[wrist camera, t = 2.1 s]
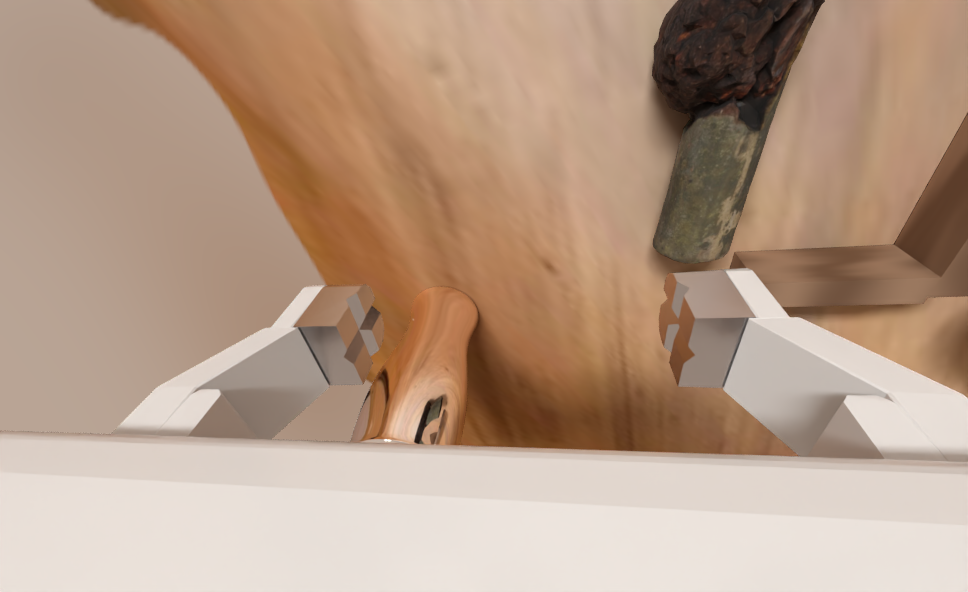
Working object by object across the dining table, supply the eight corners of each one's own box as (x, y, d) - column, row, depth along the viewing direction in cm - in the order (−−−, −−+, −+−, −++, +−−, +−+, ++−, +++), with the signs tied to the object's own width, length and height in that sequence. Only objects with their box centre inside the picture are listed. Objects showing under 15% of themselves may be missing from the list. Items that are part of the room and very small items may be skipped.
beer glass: (482, 283, 33) (449, 444, 21) (484, 343, 37) (458, 505, 25) (401, 279, 34) (326, 433, 22) (413, 338, 38) (354, 494, 26)
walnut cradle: (1364, -432, 12) (1651, -581, 9) (921, 267, 28) (970, 302, 24) (899, -313, 14) (1000, -402, 11) (728, 274, 30) (750, 307, 26)
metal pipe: (716, 230, 28) (748, 275, 24) (618, 230, 29) (632, 273, 24) (833, -127, 17) (933, -169, 13) (673, -109, 18) (714, -142, 14)
